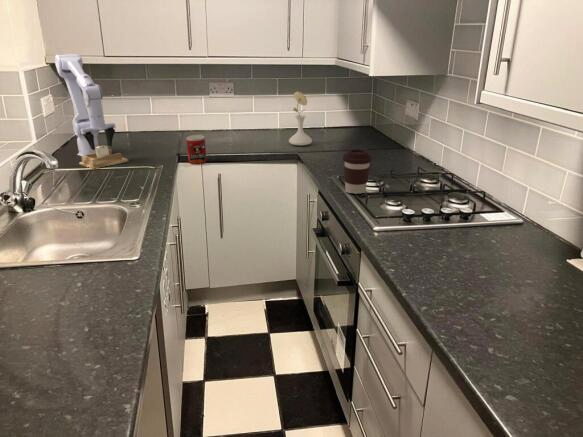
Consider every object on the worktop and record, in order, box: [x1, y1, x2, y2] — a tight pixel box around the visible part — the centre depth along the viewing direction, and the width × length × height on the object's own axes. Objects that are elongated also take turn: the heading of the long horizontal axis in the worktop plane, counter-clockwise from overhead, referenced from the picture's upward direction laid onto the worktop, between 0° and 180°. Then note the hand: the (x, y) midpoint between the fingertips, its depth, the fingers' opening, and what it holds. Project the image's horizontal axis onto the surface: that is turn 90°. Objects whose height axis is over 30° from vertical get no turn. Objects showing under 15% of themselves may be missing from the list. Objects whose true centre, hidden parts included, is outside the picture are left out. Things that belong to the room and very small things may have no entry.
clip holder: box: [79, 148, 129, 171], centre depth 202 cm, size 12×16×4 cm
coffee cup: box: [342, 148, 373, 194], centre depth 166 cm, size 10×10×15 cm
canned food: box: [186, 134, 207, 166], centre depth 201 cm, size 8×8×11 cm
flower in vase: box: [288, 91, 313, 146], centre depth 225 cm, size 13×11×25 cm
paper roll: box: [96, 145, 109, 158], centre depth 201 cm, size 5×5×6 cm
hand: (101, 147), depth 200 cm, fingers open, 7 cm apart
